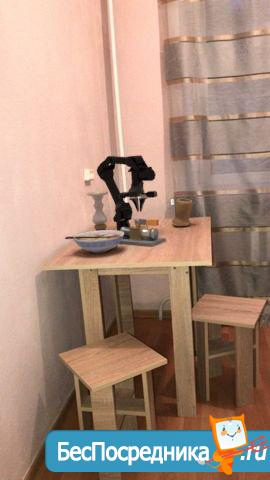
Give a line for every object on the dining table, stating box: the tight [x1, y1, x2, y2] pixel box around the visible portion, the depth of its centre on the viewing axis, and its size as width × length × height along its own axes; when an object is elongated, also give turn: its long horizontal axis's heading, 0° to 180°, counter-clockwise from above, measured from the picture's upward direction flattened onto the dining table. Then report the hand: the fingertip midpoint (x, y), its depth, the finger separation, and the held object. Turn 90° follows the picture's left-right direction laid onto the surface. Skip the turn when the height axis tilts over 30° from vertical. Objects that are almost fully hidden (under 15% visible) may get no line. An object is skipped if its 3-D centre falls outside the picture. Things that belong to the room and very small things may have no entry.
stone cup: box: [171, 197, 194, 227], centre depth 236 cm, size 15×12×15 cm
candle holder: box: [86, 190, 109, 231], centre depth 209 cm, size 11×11×24 cm
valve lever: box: [134, 218, 160, 227], centre depth 197 cm, size 12×3×3 cm, turn 58°
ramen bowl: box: [64, 229, 124, 254], centre depth 188 cm, size 25×23×8 cm
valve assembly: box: [118, 225, 167, 247], centre depth 200 cm, size 22×12×8 cm, turn 55°
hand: (139, 211), depth 217 cm, fingers closed
